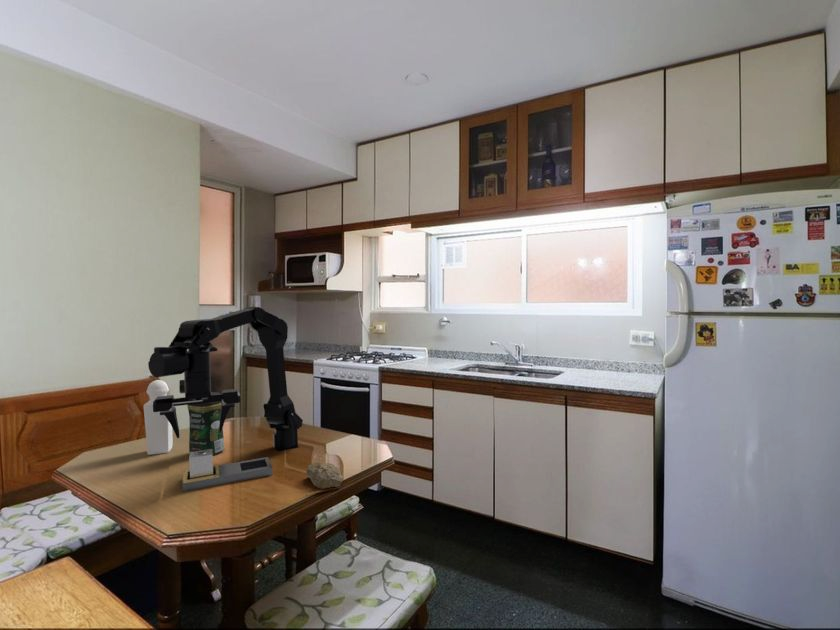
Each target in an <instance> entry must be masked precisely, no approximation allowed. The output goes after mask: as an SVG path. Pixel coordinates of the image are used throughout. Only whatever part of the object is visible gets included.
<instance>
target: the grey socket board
mask: <svg viewBox="0 0 840 630" xmlns="http://www.w3.org/2000/svg"><path fill="white" fill-rule="evenodd" d="M182 476H183V477H182V482H181V483H182V484H181V485H182V492H189V491H194V490H201V489H206V488H210V487H215V486H221V485H226V484H232V483H238V482H243V481H248V480H253V479H260V478H264V477H268V476H273V466H272V464H271V461H270V459H269V457H268V456H267V457H260V458H253V459H247V460H242V461H237V462H236V461H235V462H231V463H224V464H213V475H212V476H206V477H201V478H195V479H190V469H185V470H184V471H183V475H182Z"/></svg>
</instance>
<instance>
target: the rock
mask: <svg viewBox="0 0 840 630" xmlns="http://www.w3.org/2000/svg"><path fill="white" fill-rule="evenodd" d="M306 475H307V476H308V478H309V479H310V481H311V482H312V484H313V486H315V488H318V489H320V490H323V489H324V490H325V489H329V488H336V489H337V488H340V487H341V485H342V483H343V480H344V477H343V475H342V473H341V471H340V469H339V468H338V466H336V465H335V464H334V463H330V462H329V463H327V462H321V461H315V462H312V463H310V464H309V465H308V467H307V468H306Z"/></svg>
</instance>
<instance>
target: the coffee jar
mask: <svg viewBox="0 0 840 630" xmlns="http://www.w3.org/2000/svg"><path fill="white" fill-rule="evenodd" d="M213 394H221V393H220V392H219V391H218V392H215V391H211V395H213ZM191 400H192V401H193V400H194V399H189V401H191ZM203 400H206V399H203ZM221 402H222V401H218V402H208V403H199V404H190V405H186V406H187V411H188V417H189V437H188V438H189V439H188V440H189V441H188V452H189V454H190V452H195V451H202V450H208V449H212V454H213V456H216V455H219V454H221V453H222V452H223V451H225V438H224V427H223V428H222V431H221V432H219V422H220V413H221Z"/></svg>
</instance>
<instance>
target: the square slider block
mask: <svg viewBox="0 0 840 630" xmlns="http://www.w3.org/2000/svg"><path fill="white" fill-rule="evenodd" d="M213 458H214V455H213V454H212V449H208V450H202V451H195V452H190V453H189V457H188V459H189V460H188V461H189V462H188V463H189V470H190V479H195V478H201V477H206V476H212V475H213V465H214V459H213Z"/></svg>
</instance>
